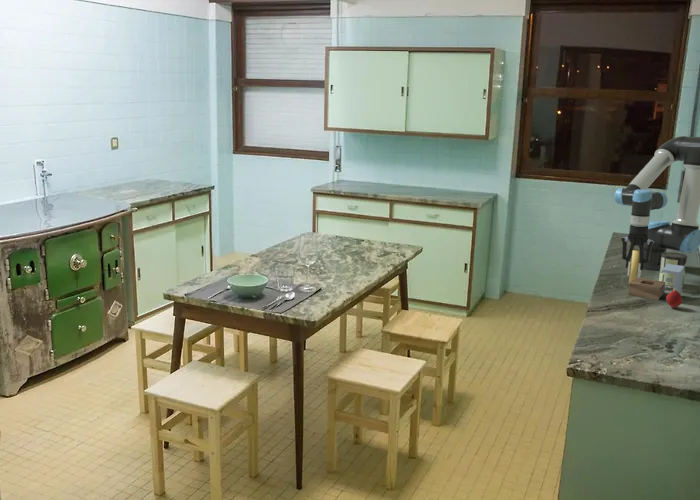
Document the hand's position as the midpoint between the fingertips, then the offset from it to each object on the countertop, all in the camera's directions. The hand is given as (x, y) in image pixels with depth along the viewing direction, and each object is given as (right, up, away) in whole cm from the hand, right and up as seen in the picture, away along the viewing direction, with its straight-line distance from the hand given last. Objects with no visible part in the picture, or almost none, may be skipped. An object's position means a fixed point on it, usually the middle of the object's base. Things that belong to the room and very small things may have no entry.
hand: (633, 275), depth 296 cm
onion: (+3, -12, -31) cm, 33 cm away
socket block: (0, -7, -12) cm, 14 cm away
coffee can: (+17, -4, +1) cm, 18 cm away
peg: (0, -4, +1) cm, 4 cm away
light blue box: (+8, -9, -17) cm, 21 cm away
